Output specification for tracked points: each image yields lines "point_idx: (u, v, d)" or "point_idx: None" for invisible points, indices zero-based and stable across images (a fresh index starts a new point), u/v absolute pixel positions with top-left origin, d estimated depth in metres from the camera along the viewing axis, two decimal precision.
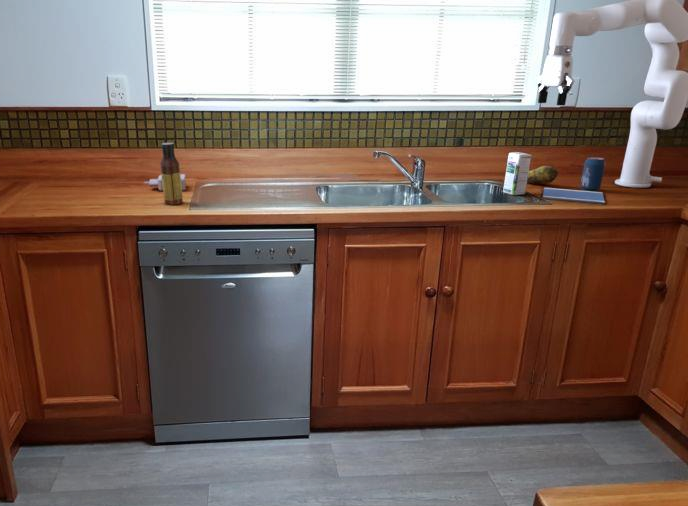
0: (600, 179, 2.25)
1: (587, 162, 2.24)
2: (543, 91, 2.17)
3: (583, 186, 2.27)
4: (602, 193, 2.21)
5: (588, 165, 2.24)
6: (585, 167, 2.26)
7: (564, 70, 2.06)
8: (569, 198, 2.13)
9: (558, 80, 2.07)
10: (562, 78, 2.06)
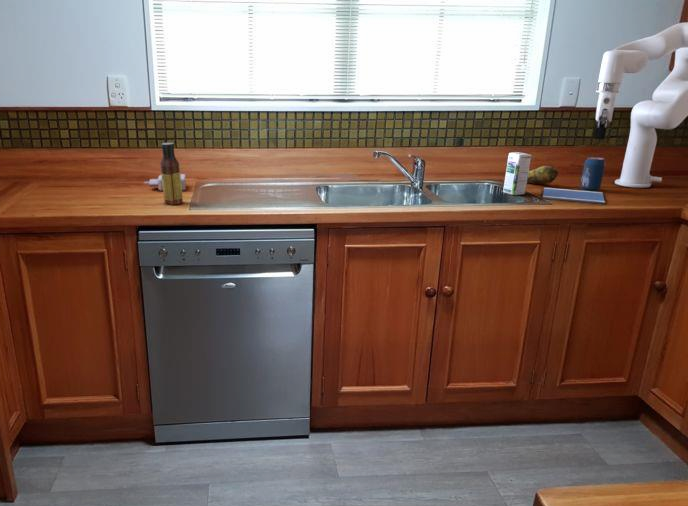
0: (600, 179, 2.25)
1: (587, 162, 2.24)
2: None
3: (583, 186, 2.27)
4: (602, 193, 2.21)
5: (588, 165, 2.24)
6: (585, 167, 2.26)
7: (602, 106, 2.13)
8: (569, 198, 2.13)
9: (597, 115, 2.16)
10: (600, 113, 2.15)
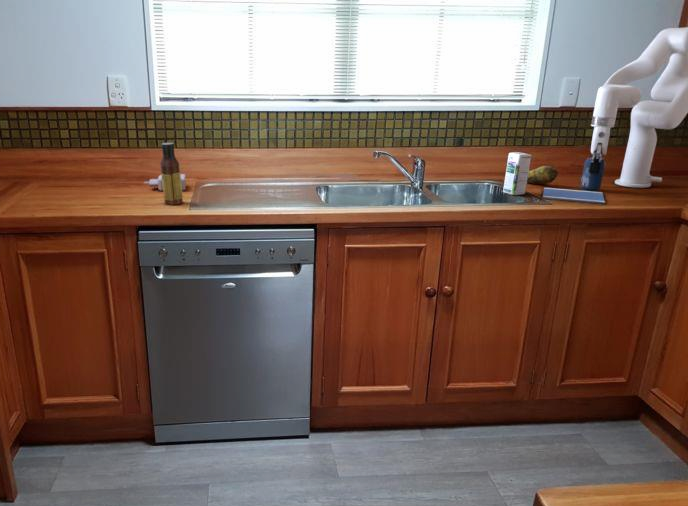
0: (600, 179, 2.25)
1: (587, 162, 2.24)
2: None
3: (583, 186, 2.27)
4: (602, 193, 2.21)
5: (588, 165, 2.24)
6: (585, 167, 2.26)
7: (597, 140, 2.18)
8: (569, 198, 2.13)
9: (592, 148, 2.20)
10: (594, 149, 2.19)
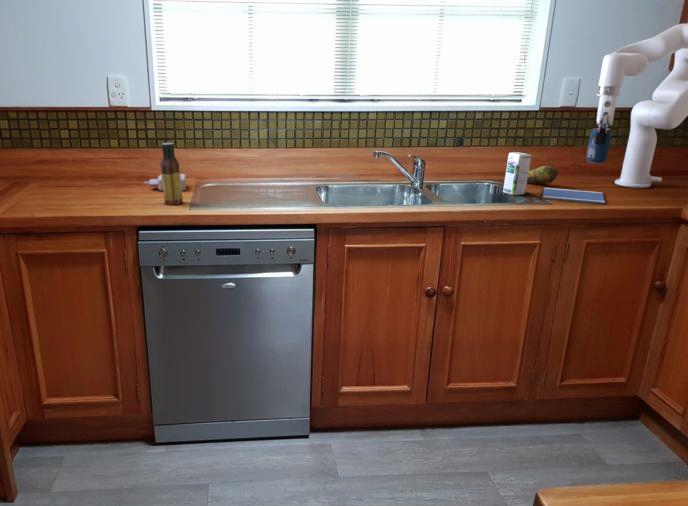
0: (606, 150, 2.21)
1: (593, 133, 2.20)
2: None
3: (589, 158, 2.23)
4: (602, 193, 2.21)
5: (594, 136, 2.20)
6: (591, 138, 2.22)
7: (603, 109, 2.14)
8: (569, 198, 2.13)
9: (598, 118, 2.16)
10: (600, 119, 2.15)
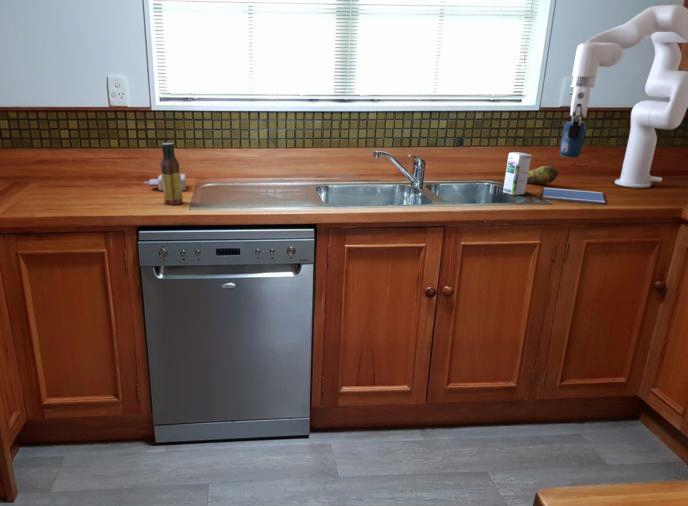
0: (580, 144, 2.11)
1: (566, 126, 2.11)
2: None
3: (562, 152, 2.14)
4: (602, 193, 2.21)
5: (567, 129, 2.10)
6: (564, 131, 2.12)
7: (576, 101, 2.04)
8: (569, 198, 2.13)
9: (571, 110, 2.07)
10: (573, 111, 2.06)
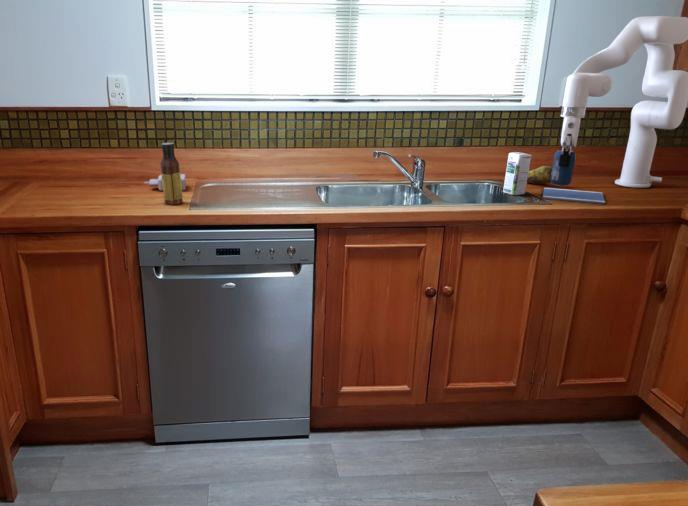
0: (570, 172, 2.13)
1: (557, 154, 2.13)
2: None
3: (553, 180, 2.16)
4: (602, 193, 2.21)
5: (558, 158, 2.13)
6: (555, 160, 2.14)
7: (567, 131, 2.07)
8: (569, 198, 2.13)
9: (561, 140, 2.09)
10: (564, 140, 2.08)
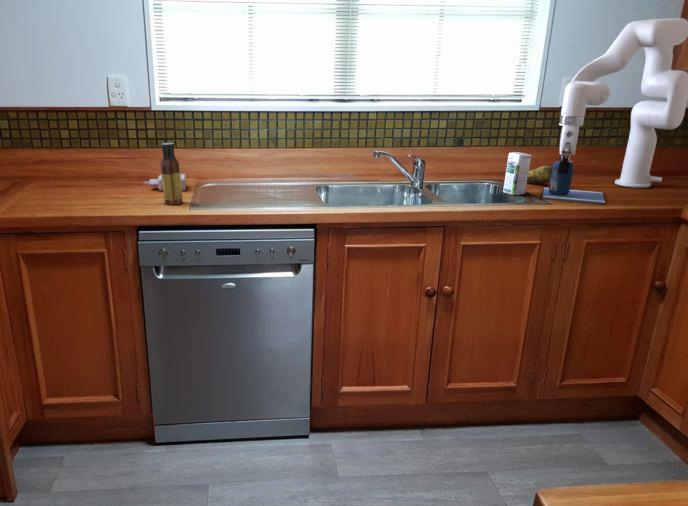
0: (569, 183, 2.15)
1: (555, 165, 2.15)
2: None
3: (551, 190, 2.17)
4: (602, 193, 2.21)
5: (556, 168, 2.14)
6: (553, 170, 2.16)
7: (565, 139, 2.08)
8: (569, 198, 2.13)
9: (560, 149, 2.10)
10: (563, 147, 2.09)
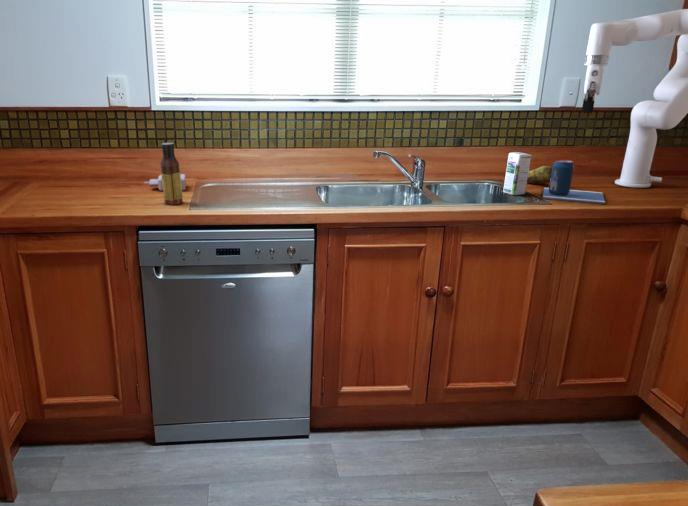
0: (569, 183, 2.15)
1: (555, 165, 2.15)
2: None
3: (551, 190, 2.17)
4: (602, 193, 2.21)
5: (556, 168, 2.14)
6: (553, 170, 2.16)
7: (590, 79, 2.12)
8: (569, 198, 2.13)
9: (585, 88, 2.15)
10: (588, 86, 2.13)
